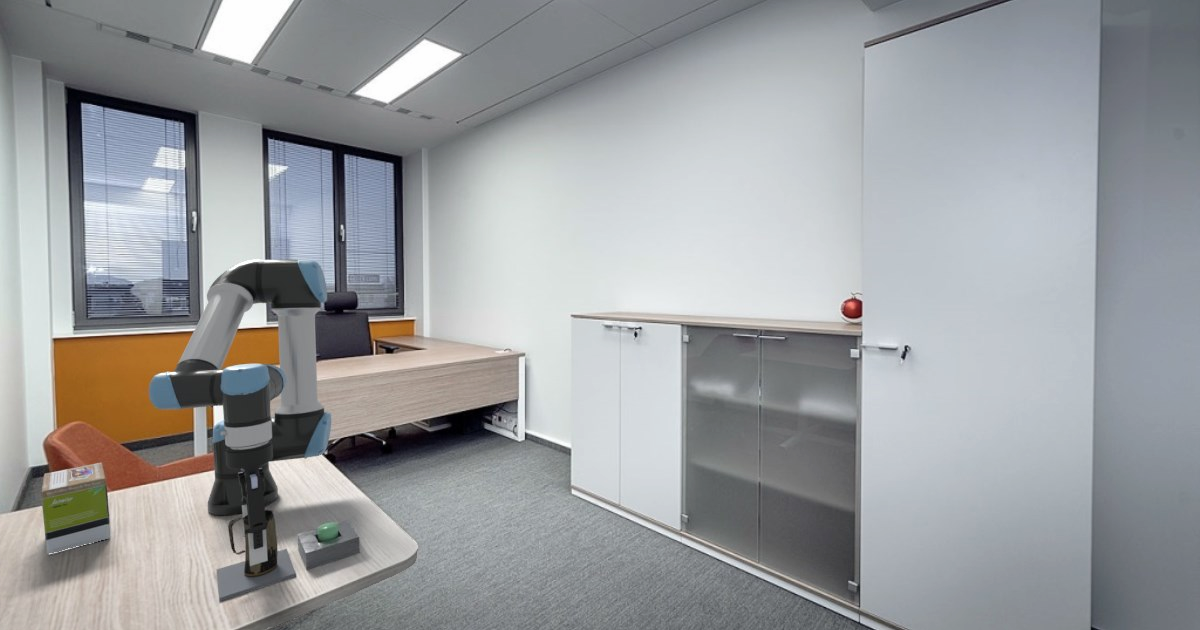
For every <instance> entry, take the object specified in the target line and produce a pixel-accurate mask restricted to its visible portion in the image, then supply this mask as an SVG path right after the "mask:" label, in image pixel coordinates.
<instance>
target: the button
mask: <svg viewBox="0 0 1200 630" xmlns="http://www.w3.org/2000/svg"><path fill="white" fill-rule="evenodd" d="M337 523H338V522H333V521H332V522H326V523H322V524H321V525H319V526H318V527H317V529H318V543H321V542H324V541H327V540H331V539H334V538H337V537H338V524H337Z"/></svg>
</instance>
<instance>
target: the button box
mask: <svg viewBox="0 0 1200 630" xmlns="http://www.w3.org/2000/svg"><path fill="white" fill-rule="evenodd" d="M336 523H337V524H338V537H337V538H334V539H331V540H327V541H324V542H321V543H318V528H315V529H312V530H309V531H304V532H302V533H297V550H298V552H299V553H298V554H299V555H300V557H301V560H302V563H303V565H304V567H305V569H306V571H308V570H312V569H314V568H317V567H321V566H323V565H326V564H329V563H332V562H336V561H339V560H341V559H345V558H348V557H351V556H353V555H357V554H360V553H361V546H360V545H361V544H360V543H361V542H360V535H359V534H358V532H357V531H356V529H355V528H354V527H353V525H352V524H351V522H350V521H349V520H344V521H340V522H336Z"/></svg>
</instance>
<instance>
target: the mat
mask: <svg viewBox="0 0 1200 630" xmlns="http://www.w3.org/2000/svg"><path fill="white" fill-rule="evenodd" d="M244 568H245V560H244V561H243V560H242V561H241V562H237V563H234V564H230V565H228V566H223V567H220V568H217V569H216V578H217V579H216V580H217V590H218V601H219V602H221V601H225V600H229V599H230V598H233V597H237V596H240V595H243V594H247V593H248V592H251V591H254V590H259V589H261V588H264V587H266V586H269V585H273V584H276V583H279V582H282V581H285V580H288V579H291V578H295V577H297V573H296V570H295V567H294V565H293V562H292V560H291V557H290V554H289V551H288V549H287V548H284V549H280V550H278V554H277V567H276V568H275V569H274V570H273V571H271V572H269V573H267V574H265V575H262V576H258V577H246V576H245V575H244Z"/></svg>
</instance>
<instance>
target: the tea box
mask: <svg viewBox="0 0 1200 630" xmlns="http://www.w3.org/2000/svg"><path fill="white" fill-rule="evenodd" d="M104 470H105V469H104V466H103V463H102V462H97V463H93V464H86V465H82V466H78V467H71V468H67V469H62V470H58V471H53V472H46V473H44V475H43V478H42V486H41V495H40V496H41V505H42V508H41V509H42V515H43V526H44V527H43V528H44V537H45V538H44V539H45V540H44V541H45V544H46V545H45V546H46V548H45V549H46V555H47V554H49V553H54V552H59V551H62V550H65V549H68V548H73V547H76V546H81V545H84V544H89V543H93V542H97V543H99V542H98V541H100V542H102V541H101V540H104V541H106V540H105V539H107V540H109V539H111V524H110V523H111V522H110V509H109V507H110V506H109V495H108V487H107V482H106V481H107V480H106V474H105V471H104ZM93 544H94V543H93Z"/></svg>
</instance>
